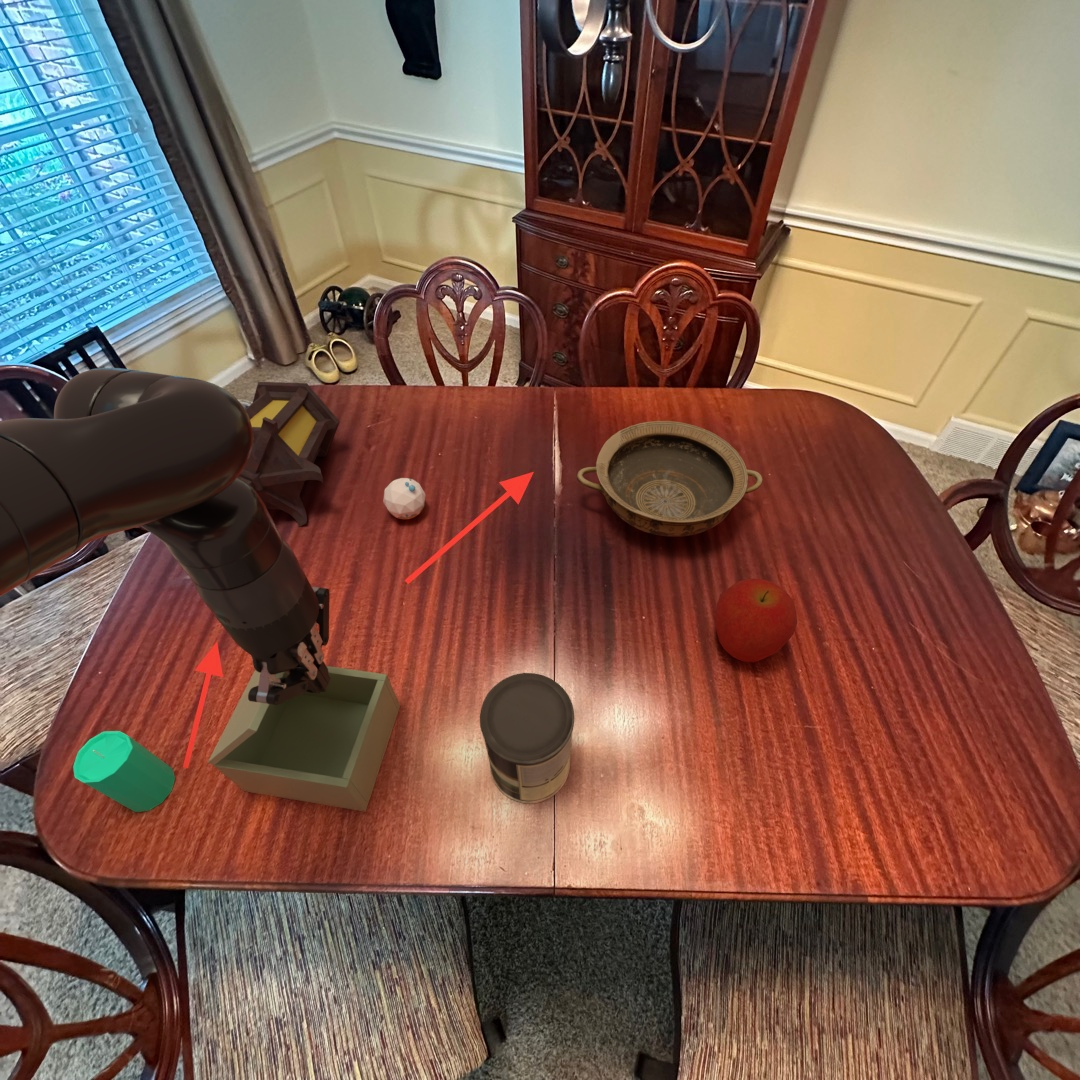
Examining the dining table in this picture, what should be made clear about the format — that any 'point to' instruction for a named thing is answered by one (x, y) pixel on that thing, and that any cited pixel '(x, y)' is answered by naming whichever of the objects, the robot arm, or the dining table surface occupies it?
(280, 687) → the robot arm
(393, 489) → the ornament
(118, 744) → the candle
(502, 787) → the coffee can
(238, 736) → the lid
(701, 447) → the ceramic bowl
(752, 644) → the apple
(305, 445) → the lantern
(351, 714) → the chest
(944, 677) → the dining table surface
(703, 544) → the dining table surface
